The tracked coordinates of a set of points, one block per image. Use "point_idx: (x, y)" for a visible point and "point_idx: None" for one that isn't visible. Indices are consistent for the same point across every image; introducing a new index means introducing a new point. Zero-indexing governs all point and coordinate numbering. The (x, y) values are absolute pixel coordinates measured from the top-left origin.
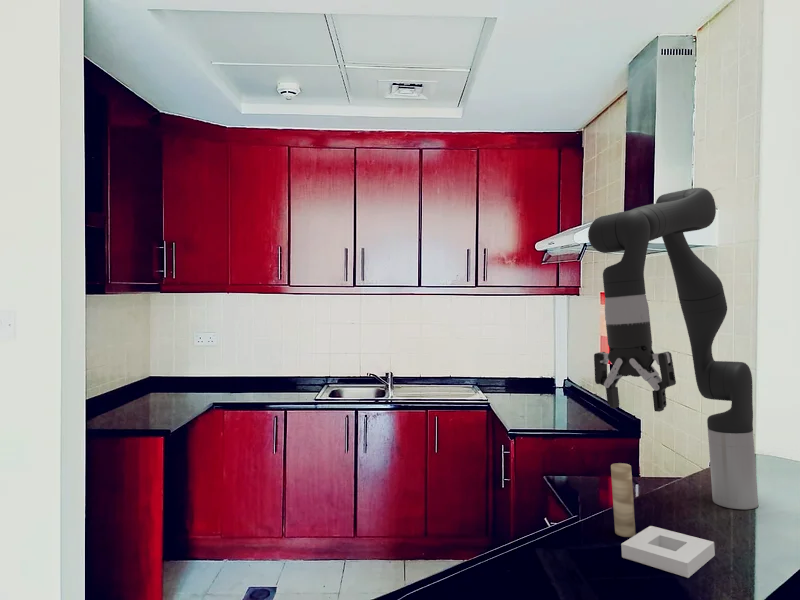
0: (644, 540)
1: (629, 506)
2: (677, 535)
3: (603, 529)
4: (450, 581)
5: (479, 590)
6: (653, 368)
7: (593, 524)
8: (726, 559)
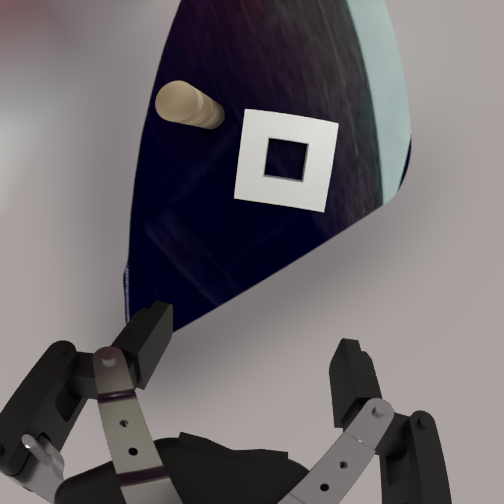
0: (256, 168)
1: (212, 117)
2: (290, 125)
3: None
4: None
5: None
6: (351, 483)
7: None
8: (347, 126)
